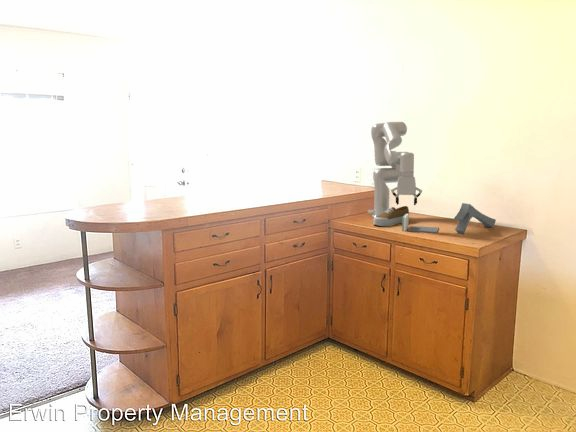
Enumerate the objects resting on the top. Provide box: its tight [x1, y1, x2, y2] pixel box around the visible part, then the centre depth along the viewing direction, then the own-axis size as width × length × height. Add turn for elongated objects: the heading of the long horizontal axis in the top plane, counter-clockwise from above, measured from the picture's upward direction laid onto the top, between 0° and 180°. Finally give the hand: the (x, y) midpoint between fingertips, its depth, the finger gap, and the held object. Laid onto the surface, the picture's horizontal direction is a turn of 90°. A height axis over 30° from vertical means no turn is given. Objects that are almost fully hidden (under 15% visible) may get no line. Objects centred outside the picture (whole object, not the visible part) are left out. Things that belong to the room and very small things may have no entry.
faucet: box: [453, 202, 497, 235], centre depth 274 cm, size 6×17×30 cm
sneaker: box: [372, 205, 410, 227], centre depth 299 cm, size 10×29×10 cm, turn 126°
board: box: [401, 213, 410, 232], centre depth 282 cm, size 2×12×8 cm, turn 159°
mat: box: [407, 225, 439, 234], centre depth 280 cm, size 16×13×1 cm
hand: (406, 204), depth 279 cm, fingers open, 9 cm apart
